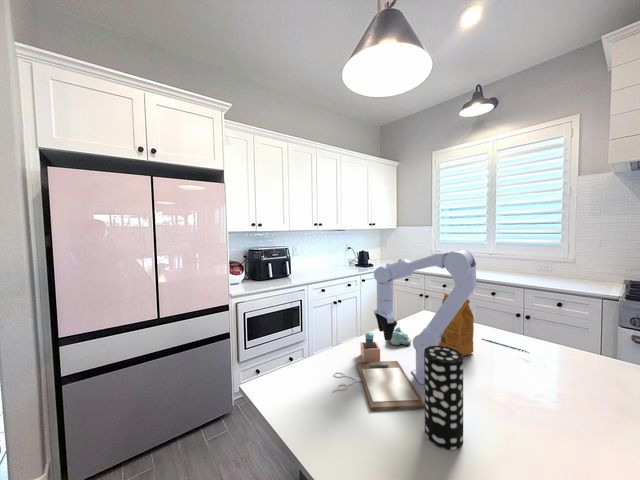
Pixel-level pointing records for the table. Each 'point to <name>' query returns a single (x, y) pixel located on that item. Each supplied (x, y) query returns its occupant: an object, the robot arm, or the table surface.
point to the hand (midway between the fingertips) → (385, 335)
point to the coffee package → (459, 330)
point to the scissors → (345, 384)
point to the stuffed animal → (399, 337)
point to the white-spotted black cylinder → (443, 396)
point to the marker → (369, 340)
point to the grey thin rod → (503, 344)
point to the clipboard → (388, 386)
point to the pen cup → (370, 353)
